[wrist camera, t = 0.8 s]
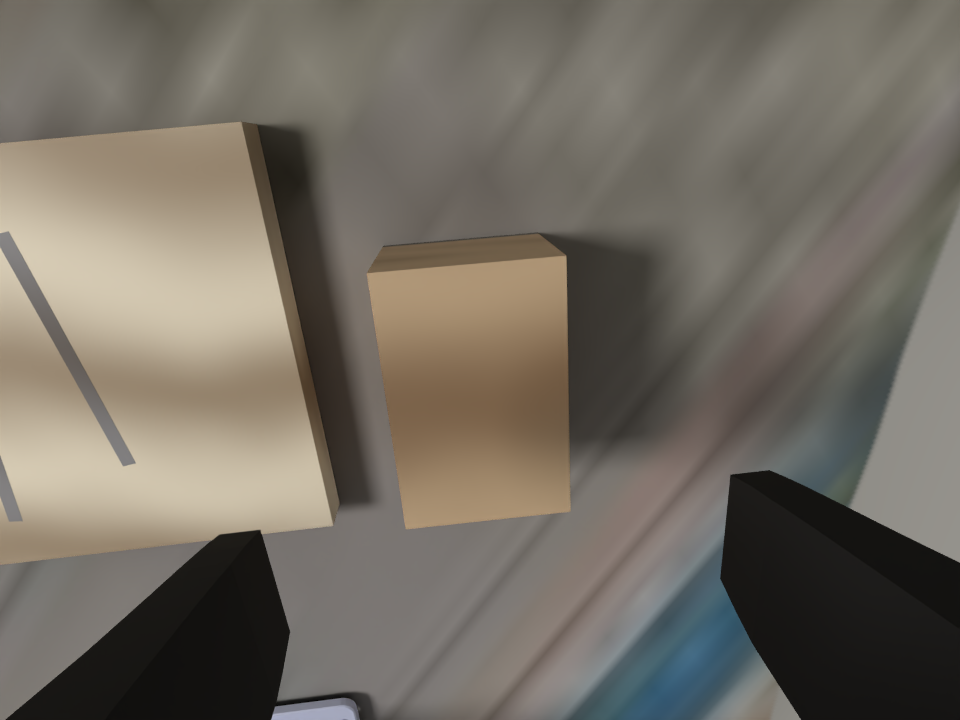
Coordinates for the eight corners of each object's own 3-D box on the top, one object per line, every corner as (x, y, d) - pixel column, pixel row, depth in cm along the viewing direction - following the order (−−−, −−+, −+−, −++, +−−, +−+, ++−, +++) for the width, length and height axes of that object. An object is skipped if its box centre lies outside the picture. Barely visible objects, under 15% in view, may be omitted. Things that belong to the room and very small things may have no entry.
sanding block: (543, 439, 18) (570, 511, 15) (412, 452, 18) (405, 529, 14) (536, 231, 16) (566, 255, 12) (384, 245, 16) (366, 273, 12)
